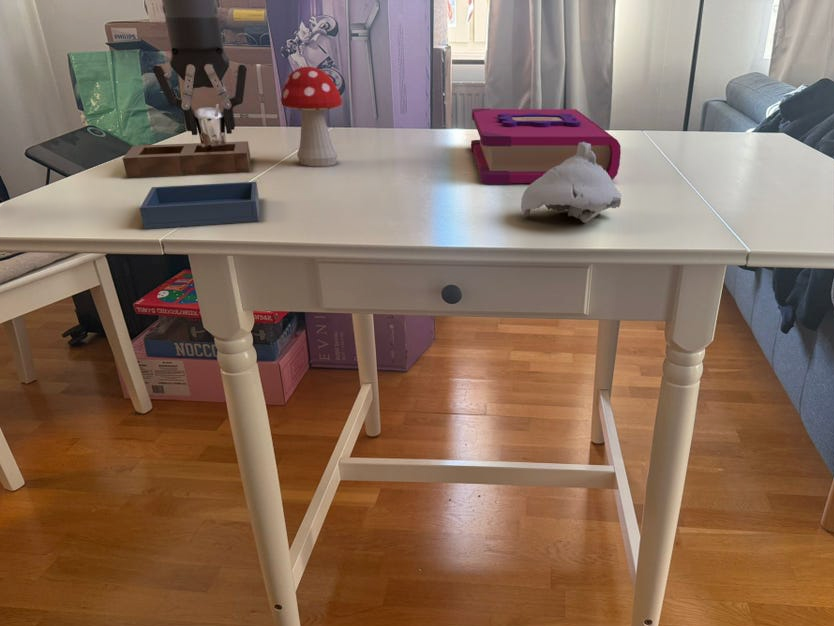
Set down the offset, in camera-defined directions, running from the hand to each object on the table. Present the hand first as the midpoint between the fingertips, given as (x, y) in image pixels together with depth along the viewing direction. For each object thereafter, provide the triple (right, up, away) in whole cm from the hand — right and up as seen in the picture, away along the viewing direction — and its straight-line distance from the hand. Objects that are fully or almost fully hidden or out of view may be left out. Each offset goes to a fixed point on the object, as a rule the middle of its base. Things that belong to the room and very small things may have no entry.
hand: (212, 133), depth 108 cm
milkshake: (0, -5, +3) cm, 6 cm away
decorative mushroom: (+16, -3, +6) cm, 17 cm away
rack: (-4, -5, +2) cm, 7 cm away
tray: (+8, -18, -21) cm, 29 cm away
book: (+53, -3, +7) cm, 53 cm away
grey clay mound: (+55, -19, -22) cm, 62 cm away
